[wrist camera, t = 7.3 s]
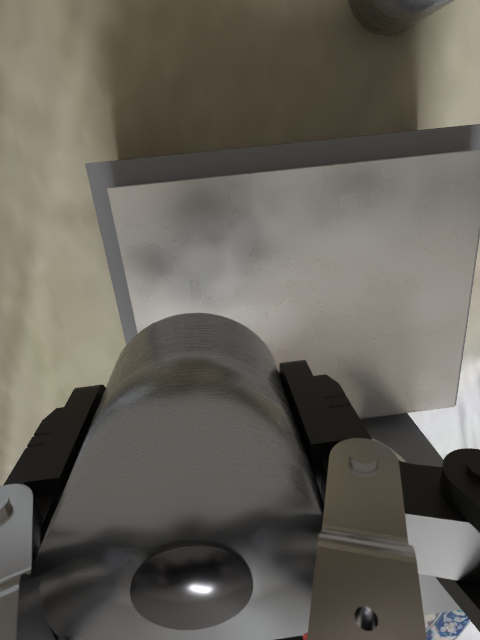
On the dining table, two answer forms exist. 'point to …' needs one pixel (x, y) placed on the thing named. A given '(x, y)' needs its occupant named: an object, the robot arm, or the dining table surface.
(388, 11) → the cylinder
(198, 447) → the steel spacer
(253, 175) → the scale pan
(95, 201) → the scale
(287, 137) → the dining table surface
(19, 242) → the dining table surface
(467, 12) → the dining table surface
